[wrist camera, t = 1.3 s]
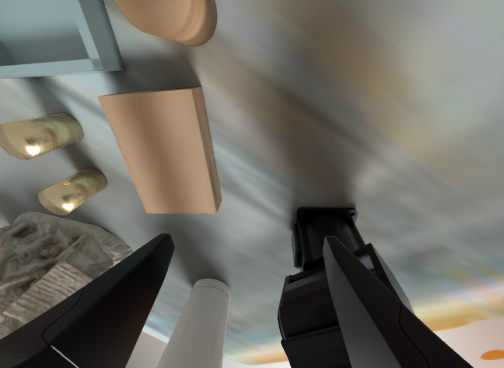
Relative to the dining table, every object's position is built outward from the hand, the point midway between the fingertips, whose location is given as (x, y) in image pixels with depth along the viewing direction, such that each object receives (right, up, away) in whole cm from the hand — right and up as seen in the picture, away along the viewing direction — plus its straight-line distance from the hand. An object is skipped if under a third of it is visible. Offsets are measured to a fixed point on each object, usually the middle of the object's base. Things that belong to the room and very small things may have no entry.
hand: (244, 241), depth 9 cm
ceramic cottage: (-26, -7, +21) cm, 34 cm away
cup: (-6, -15, +23) cm, 28 cm away
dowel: (-4, +16, +5) cm, 17 cm away
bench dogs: (-18, +6, +13) cm, 23 cm away
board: (-8, +6, +12) cm, 15 cm away
